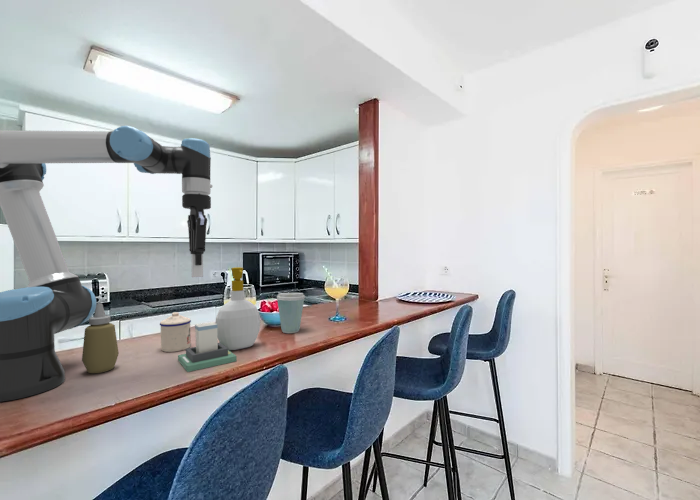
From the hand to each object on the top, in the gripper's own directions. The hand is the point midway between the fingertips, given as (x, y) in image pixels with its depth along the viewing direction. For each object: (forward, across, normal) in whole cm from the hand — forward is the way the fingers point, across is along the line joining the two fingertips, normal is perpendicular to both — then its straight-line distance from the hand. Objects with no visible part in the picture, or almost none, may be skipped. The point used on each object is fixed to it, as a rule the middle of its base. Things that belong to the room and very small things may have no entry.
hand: (197, 276), depth 99 cm
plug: (+23, -2, -2) cm, 23 cm away
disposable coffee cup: (+24, +12, -36) cm, 45 cm away
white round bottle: (+24, +4, -14) cm, 28 cm away
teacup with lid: (+25, +19, +3) cm, 31 cm away
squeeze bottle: (+25, +9, +22) cm, 35 cm away
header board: (+24, -2, -2) cm, 24 cm away
